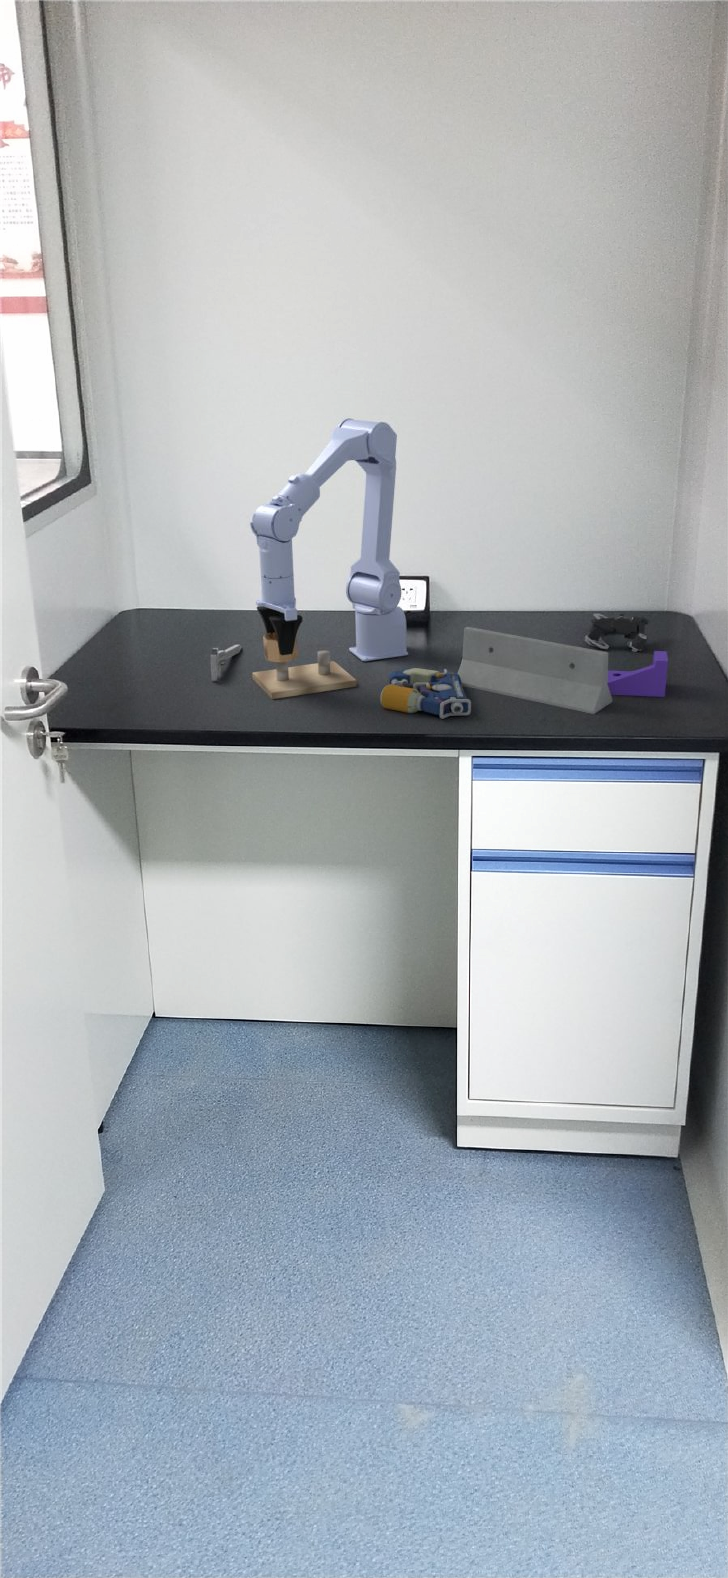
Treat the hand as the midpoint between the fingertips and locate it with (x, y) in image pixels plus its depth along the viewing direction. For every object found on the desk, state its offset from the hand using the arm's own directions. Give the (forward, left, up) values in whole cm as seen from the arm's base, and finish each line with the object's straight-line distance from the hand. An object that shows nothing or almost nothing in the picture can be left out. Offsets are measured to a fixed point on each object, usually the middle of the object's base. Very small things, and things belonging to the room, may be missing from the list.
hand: (281, 649), depth 211 cm
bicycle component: (-69, +3, -8) cm, 69 cm away
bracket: (-56, +27, -8) cm, 63 cm away
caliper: (+6, -16, -7) cm, 19 cm away
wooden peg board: (-4, 0, -7) cm, 8 cm away
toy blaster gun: (-20, +17, -8) cm, 28 cm away
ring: (0, 0, -2) cm, 2 cm away
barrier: (-39, +22, -7) cm, 45 cm away
